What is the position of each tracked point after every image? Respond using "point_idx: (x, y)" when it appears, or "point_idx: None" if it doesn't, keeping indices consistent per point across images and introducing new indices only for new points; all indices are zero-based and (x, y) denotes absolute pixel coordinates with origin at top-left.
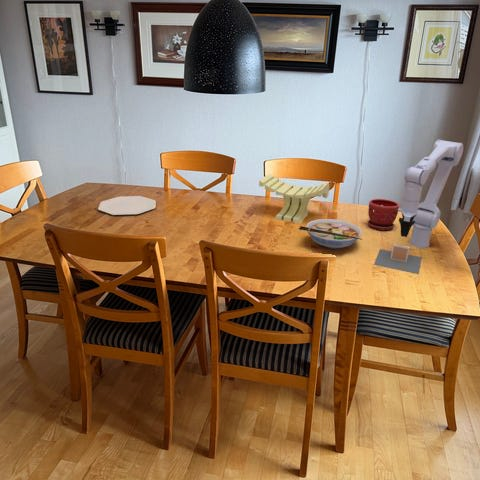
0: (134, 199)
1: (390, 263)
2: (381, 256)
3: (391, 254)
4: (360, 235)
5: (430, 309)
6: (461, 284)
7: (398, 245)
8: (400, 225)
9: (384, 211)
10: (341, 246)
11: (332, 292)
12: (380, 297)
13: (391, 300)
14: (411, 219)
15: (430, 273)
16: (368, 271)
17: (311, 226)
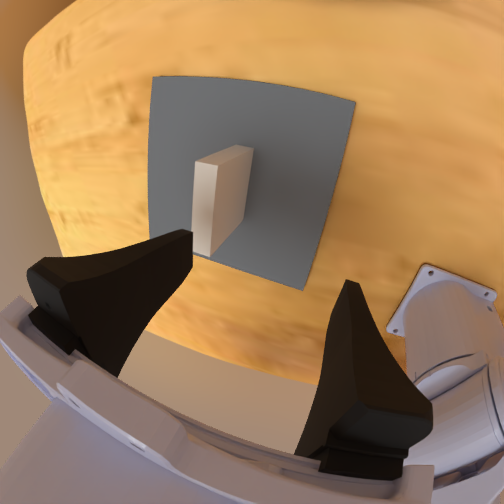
0: None
1: (187, 143)
2: (249, 101)
3: (225, 150)
4: None
5: (53, 226)
6: (168, 327)
7: (199, 194)
8: (93, 254)
9: None
10: None
11: (33, 40)
12: (40, 132)
13: (41, 155)
14: (316, 402)
15: (191, 278)
16: (120, 70)
17: None
